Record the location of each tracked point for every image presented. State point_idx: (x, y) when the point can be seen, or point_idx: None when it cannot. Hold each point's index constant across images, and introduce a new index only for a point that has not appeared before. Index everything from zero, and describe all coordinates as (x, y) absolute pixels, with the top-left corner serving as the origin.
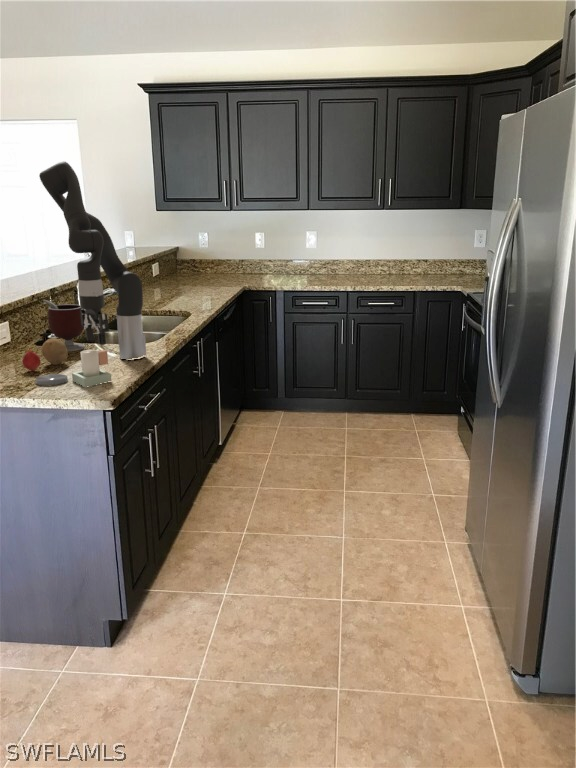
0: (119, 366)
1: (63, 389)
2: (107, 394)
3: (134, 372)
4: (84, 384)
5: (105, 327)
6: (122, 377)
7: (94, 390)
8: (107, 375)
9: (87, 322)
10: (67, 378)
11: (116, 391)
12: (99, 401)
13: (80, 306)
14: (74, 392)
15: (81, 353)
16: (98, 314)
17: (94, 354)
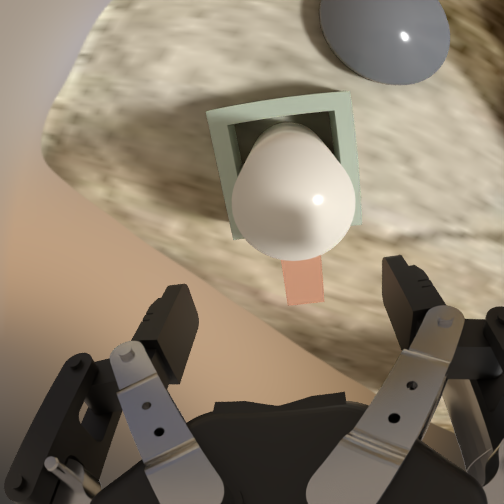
0: None
1: (238, 27)
2: (98, 167)
3: (321, 327)
4: (213, 109)
5: (110, 419)
6: None
7: (161, 135)
8: (229, 221)
9: (383, 391)
10: (371, 79)
11: (118, 203)
12: (46, 130)
13: None
14: (172, 59)
15: (282, 144)
16: (19, 500)
17: (237, 218)
